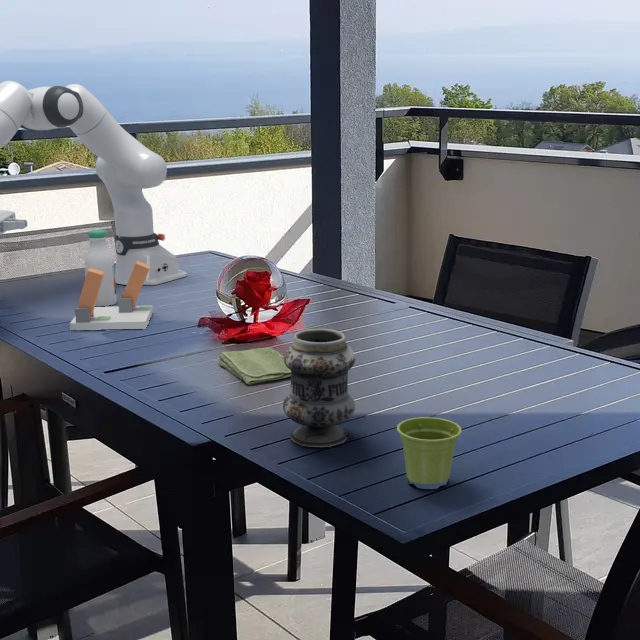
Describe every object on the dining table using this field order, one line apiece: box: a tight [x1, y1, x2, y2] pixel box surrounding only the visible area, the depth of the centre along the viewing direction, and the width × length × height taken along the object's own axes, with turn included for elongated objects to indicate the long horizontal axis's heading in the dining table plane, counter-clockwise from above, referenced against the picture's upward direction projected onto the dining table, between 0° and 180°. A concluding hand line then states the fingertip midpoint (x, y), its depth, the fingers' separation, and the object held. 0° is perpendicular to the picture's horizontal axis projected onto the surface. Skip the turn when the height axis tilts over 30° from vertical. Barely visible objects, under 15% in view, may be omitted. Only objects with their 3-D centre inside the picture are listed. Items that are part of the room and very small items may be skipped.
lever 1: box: [76, 268, 104, 317], centre depth 220 cm, size 4×4×12 cm
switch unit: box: [69, 292, 154, 332], centre depth 226 cm, size 16×18×6 cm
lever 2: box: [121, 261, 151, 308], centre depth 230 cm, size 4×4×12 cm
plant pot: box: [396, 416, 462, 484], centre depth 135 cm, size 9×9×9 cm
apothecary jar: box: [282, 328, 356, 446], centre depth 151 cm, size 12×12×18 cm
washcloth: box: [217, 347, 291, 386], centre depth 188 cm, size 13×18×3 cm
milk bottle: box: [84, 229, 118, 307], centre depth 243 cm, size 8×8×20 cm
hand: (25, 224), depth 215 cm, fingers closed
